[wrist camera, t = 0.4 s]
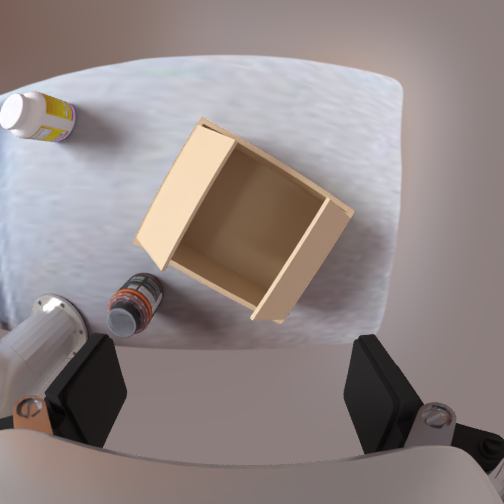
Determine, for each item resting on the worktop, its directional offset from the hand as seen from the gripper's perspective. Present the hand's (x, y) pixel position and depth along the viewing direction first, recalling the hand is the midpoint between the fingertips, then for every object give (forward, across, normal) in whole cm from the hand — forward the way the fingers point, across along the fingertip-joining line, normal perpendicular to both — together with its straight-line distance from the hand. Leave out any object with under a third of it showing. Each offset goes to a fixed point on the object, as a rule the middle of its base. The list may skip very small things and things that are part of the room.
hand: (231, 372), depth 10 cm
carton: (+32, 0, -1) cm, 32 cm away
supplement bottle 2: (+31, +15, +10) cm, 36 cm away
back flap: (+20, -6, +2) cm, 21 cm away
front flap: (+20, +6, -5) cm, 21 cm away
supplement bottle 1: (+31, +29, -18) cm, 46 cm away
